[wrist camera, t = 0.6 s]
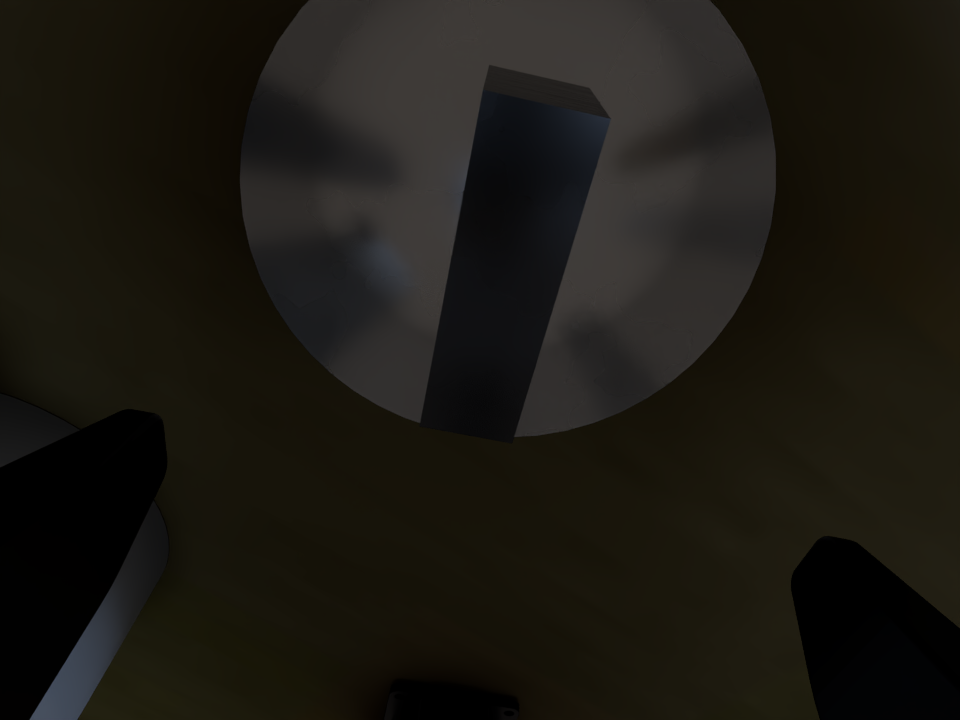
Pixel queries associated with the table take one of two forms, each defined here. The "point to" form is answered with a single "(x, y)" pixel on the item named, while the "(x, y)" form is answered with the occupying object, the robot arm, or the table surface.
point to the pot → (26, 428)
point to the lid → (507, 200)
